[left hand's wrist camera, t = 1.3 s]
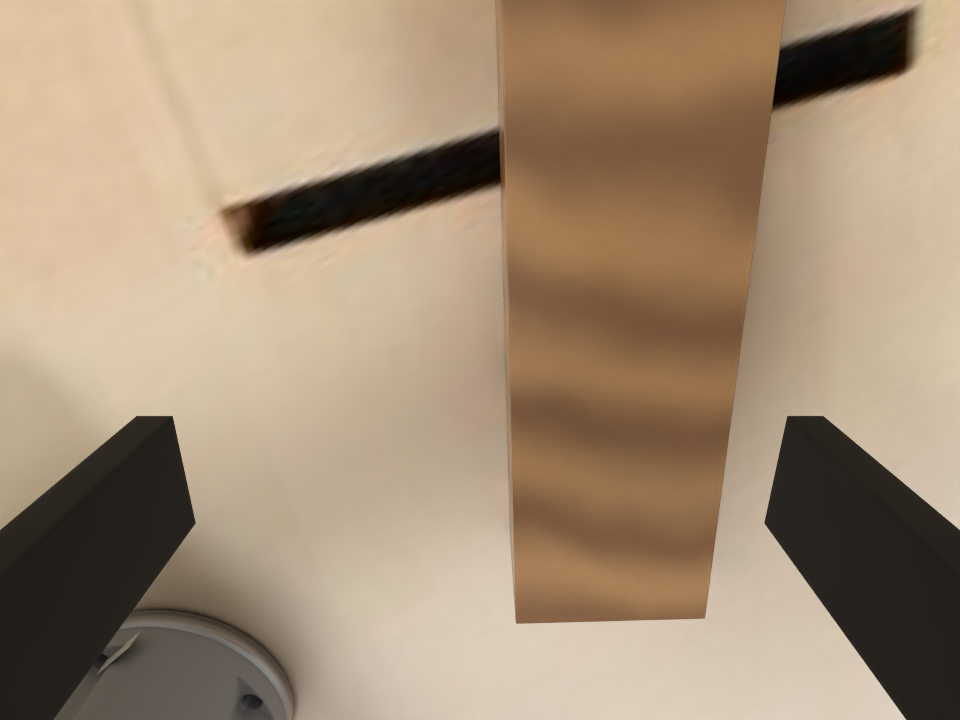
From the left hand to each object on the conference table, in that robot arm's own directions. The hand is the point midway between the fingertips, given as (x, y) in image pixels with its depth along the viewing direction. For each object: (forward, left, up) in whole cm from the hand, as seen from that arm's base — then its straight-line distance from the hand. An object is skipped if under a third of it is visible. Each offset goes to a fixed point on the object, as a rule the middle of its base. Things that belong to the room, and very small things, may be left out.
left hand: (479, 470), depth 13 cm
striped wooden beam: (+18, +2, -18) cm, 25 cm away
